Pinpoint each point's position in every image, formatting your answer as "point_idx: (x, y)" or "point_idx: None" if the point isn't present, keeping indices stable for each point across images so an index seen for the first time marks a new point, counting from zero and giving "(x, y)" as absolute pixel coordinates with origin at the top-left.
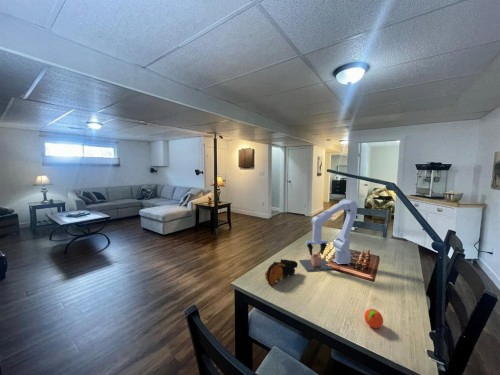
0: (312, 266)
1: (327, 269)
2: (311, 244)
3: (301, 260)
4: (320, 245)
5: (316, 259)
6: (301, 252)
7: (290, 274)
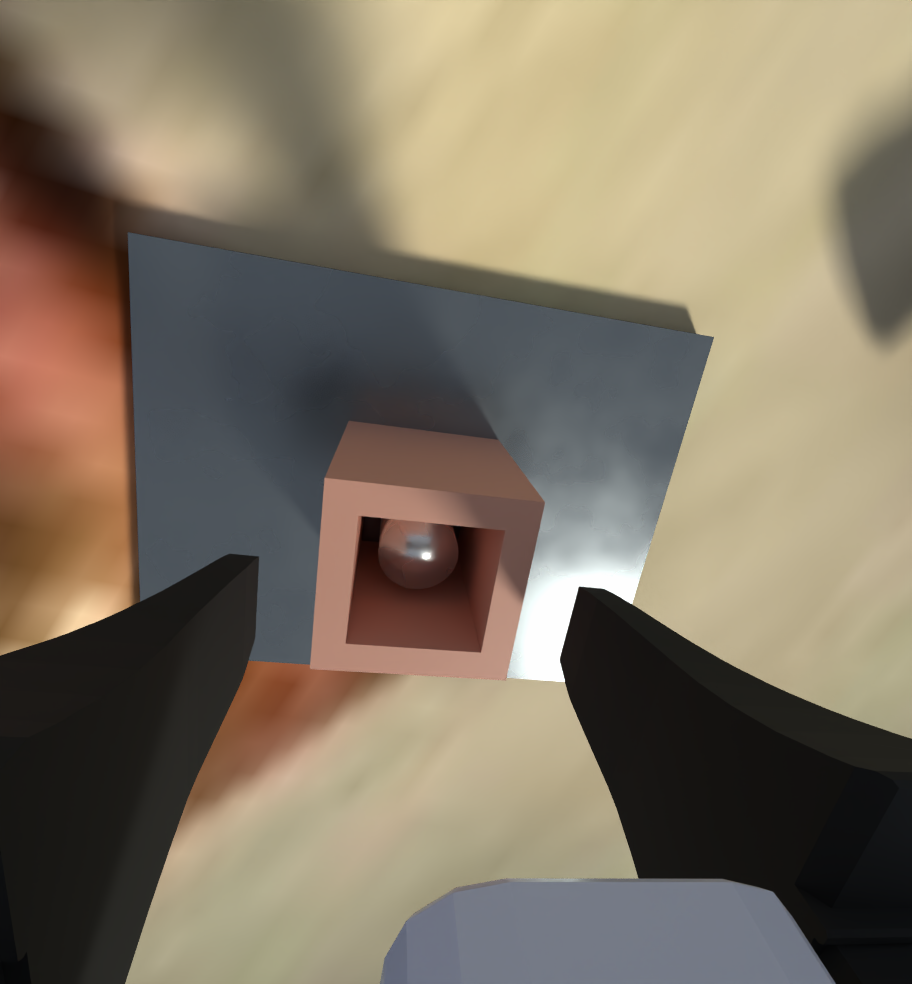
0: (534, 432)
1: (287, 263)
2: (870, 979)
3: None
4: (139, 926)
5: (467, 475)
6: (392, 897)
7: None
